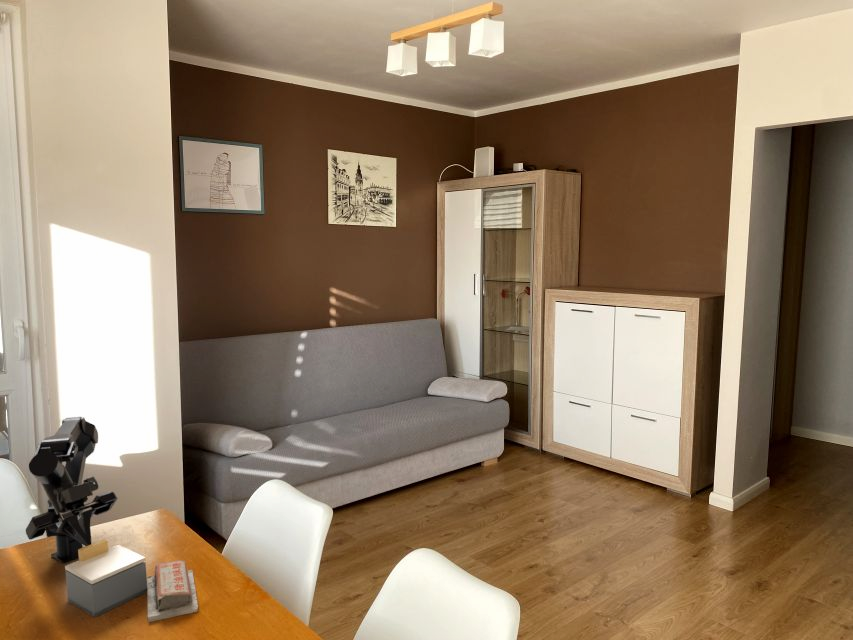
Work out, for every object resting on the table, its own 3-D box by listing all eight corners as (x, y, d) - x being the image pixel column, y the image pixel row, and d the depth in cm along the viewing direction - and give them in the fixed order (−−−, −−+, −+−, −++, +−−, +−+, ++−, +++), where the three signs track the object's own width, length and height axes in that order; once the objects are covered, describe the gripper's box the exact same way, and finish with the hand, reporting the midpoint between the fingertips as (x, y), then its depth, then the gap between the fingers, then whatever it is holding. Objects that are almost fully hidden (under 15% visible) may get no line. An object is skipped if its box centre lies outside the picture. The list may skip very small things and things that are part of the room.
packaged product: (145, 563, 151) (191, 554, 155) (146, 583, 151) (192, 574, 155) (146, 602, 134) (197, 592, 138) (147, 624, 135) (198, 613, 139)
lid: (65, 569, 142) (64, 554, 142) (118, 547, 152) (117, 534, 152) (91, 584, 136) (90, 569, 136) (145, 560, 146) (144, 546, 145)
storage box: (67, 601, 143) (65, 570, 142) (120, 577, 153) (118, 549, 152) (94, 617, 137) (92, 585, 136) (147, 591, 147) (145, 562, 146)
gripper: (27, 482, 141) (58, 544, 136) (110, 457, 157) (140, 512, 152) (13, 509, 147) (42, 569, 142) (94, 482, 162) (123, 536, 157)
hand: (89, 545), depth 148 cm, fingers closed
